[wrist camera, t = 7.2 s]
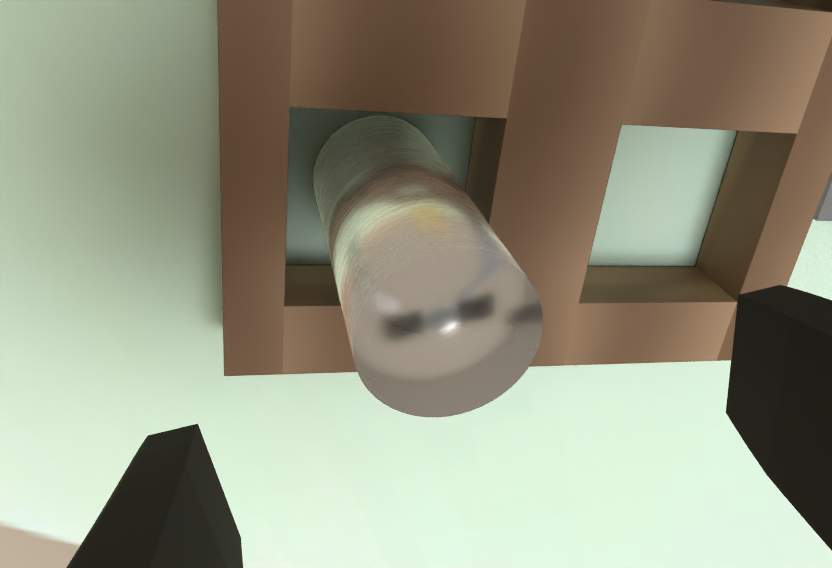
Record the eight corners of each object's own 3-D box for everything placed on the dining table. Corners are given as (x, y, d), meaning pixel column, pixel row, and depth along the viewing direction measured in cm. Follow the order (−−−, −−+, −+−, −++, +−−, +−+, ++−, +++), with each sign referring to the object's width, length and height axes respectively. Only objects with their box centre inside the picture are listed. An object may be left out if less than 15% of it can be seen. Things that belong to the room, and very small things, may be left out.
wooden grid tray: (940, -324, 15) (1432, -469, 9) (716, 321, 21) (901, 491, 15) (212, -496, 11) (180, -925, 5) (225, 329, 18) (217, 549, 12)
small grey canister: (430, 103, 17) (538, 231, 11) (445, 221, 18) (547, 392, 12) (300, 129, 16) (334, 276, 10) (326, 247, 18) (370, 436, 12)
